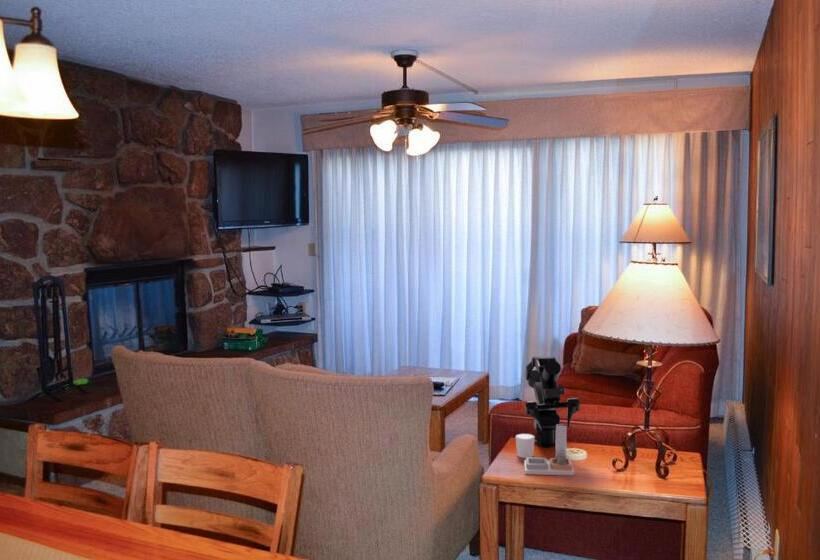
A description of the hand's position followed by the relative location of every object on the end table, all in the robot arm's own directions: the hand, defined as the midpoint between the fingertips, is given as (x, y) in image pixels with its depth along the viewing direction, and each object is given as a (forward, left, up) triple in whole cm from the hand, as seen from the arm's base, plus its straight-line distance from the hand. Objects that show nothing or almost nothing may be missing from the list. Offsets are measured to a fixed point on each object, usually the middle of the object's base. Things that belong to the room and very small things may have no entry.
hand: (555, 428), depth 255 cm
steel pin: (+4, +7, -11) cm, 13 cm away
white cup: (+4, -11, -12) cm, 17 cm away
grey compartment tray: (+7, +4, -12) cm, 14 cm away
